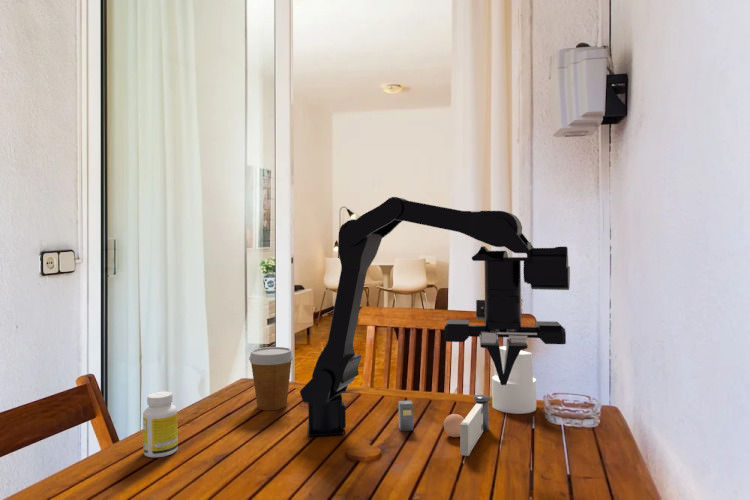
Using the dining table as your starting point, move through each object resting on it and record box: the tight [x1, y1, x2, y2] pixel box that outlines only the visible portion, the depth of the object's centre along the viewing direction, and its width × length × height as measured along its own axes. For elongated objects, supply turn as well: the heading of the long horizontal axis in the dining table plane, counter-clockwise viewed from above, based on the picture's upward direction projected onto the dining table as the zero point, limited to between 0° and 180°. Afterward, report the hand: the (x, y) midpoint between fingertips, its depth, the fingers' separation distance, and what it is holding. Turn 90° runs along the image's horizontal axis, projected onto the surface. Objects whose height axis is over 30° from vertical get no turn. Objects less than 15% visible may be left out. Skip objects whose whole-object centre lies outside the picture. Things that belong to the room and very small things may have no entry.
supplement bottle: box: [142, 391, 179, 458], centre depth 90 cm, size 5×5×10 cm
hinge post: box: [473, 394, 491, 432], centre depth 99 cm, size 3×3×6 cm
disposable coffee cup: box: [248, 346, 295, 411], centre depth 115 cm, size 10×10×12 cm
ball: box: [443, 413, 465, 438], centre depth 95 cm, size 4×4×4 cm
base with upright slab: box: [491, 345, 537, 415], centre depth 112 cm, size 9×9×12 cm
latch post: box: [397, 400, 414, 432], centre depth 99 cm, size 2×2×5 cm
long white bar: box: [459, 403, 484, 457], centre depth 92 cm, size 12×1×5 cm, turn 157°
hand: (503, 384), depth 87 cm, fingers closed
